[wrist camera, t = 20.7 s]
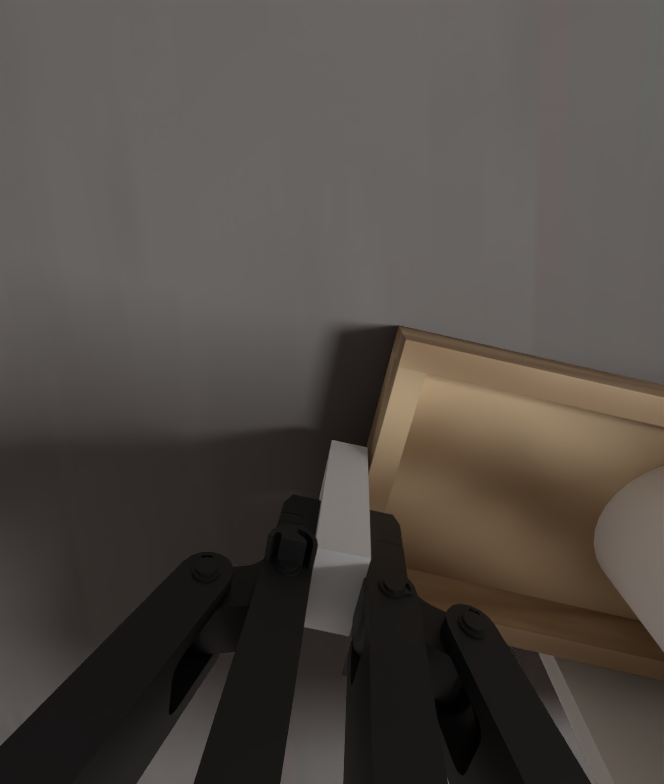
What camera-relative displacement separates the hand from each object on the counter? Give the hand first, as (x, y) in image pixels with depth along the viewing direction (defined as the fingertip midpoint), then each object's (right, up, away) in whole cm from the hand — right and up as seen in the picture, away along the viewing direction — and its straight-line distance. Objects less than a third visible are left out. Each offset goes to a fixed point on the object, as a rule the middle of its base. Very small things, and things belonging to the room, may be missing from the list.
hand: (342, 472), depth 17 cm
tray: (+11, -2, +2) cm, 11 cm away
